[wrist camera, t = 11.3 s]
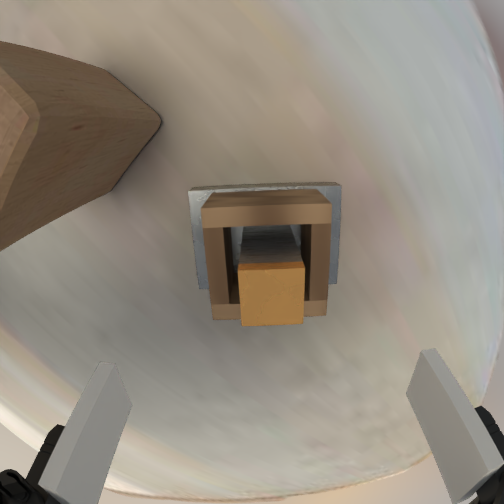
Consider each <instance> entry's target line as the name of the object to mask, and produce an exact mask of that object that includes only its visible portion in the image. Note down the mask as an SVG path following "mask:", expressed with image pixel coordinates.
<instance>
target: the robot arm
mask: <svg viewBox="0 0 504 504" xmlns="http://www.w3.org/2000/svg"><path fill="white" fill-rule="evenodd" d="M406 395H407V397H408V399H409V401H410V404H411V406H412V408H413V410H414V412H415V414H416V417H417V419H418V421H419V423H420V425H421V428H422V430H423V432H424V434H425V437H426V439H427V441H428V444H429V446H430V448H431V451H432V453H433V455H434V458H435V460H436V463H437V465H438V468H439V470H440V472H441V475H442V477H443V480H444V483H445V485H446V487H447V490H448V493H449V496H450V498H451V501H452V504H457V503H460V502H462V501H464V500H466V499H468V498H470V497H471V496H472V495H473V494H474V493H475V492H477V495H478V496H477V497H476V498H475V499H474V500H473V501H472V502H470V503H469V504H504V435H503V434H502V432H501V431H500V429H499V427H498V425H497V424H495V420H494V419H493V417H492V415H491V414H490V413H489V412H488V411H487V410H486V409H485V408H483V407H482V406H479V407H477V408H474V407H473V405H472V404H471V402H470V401H469V399H468V397H467V396H466V394H465V393H464V391H463V389H462V388H461V386H460V385H459V383H458V382H457V380H456V378H455V377H454V375H453V374H452V372H451V371H450V369H449V368H448V366H447V365H446V363H445V362H444V360H443V359H442V357H441V356H440V354H439V353H438V352H437V350H436V349H435V348H433V349H428V350H423V351H421V353H420V356H419V359H418V362H417V365H416V368H415V370H414V373H413V376H412V379H411V381H410V384H409V387H408V389H407V392H406ZM131 407H132V403H131V401H130V399H129V396H128V394H127V392H126V389H125V387H124V384H123V382H122V380H121V377H120V375H119V372H118V370H117V367H116V364H115V363H108V362H100V363H99V365H98V366H97V368H96V370H95V372H94V374H93V375H92V377H91V379H90V381H89V383H88V384H87V386H86V388H85V390H84V392H83V393H82V395H81V397H80V399H79V401H78V403H77V405H76V407H75V408H74V410H73V412H72V414H71V416H70V418H69V420H68V422H67V424H66V426H62V425H58V424H57V425H56V426H55V427H54V428H53V429H52V430H51V431H50V432H49V433H48V435H47V437H46V439H45V441H44V444H43V445H42V447H41V449H40V452H39V453H38V455H37V457H36V459H35V461H34V463H33V465H32V467H31V469H30V471H29V473H28V475H27V477H26V479H24V478H23V477H22V476H21V475H20V474H19V473H18V472H17V471H15V470H12V469H8V470H4V471H2V472H1V473H0V504H98V502H99V498H100V495H101V492H102V489H103V486H104V483H105V480H106V477H107V474H108V471H109V468H110V465H111V462H112V459H113V457H114V454H115V451H116V448H117V445H118V442H119V440H120V437H121V434H122V431H123V428H124V426H125V423H126V420H127V418H128V415H129V412H130V410H131Z"/></svg>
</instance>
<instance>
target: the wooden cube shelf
mask: <svg viewBox="0 0 504 504" xmlns="http://www.w3.org/2000/svg"><path fill="white" fill-rule="evenodd" d="M201 218H202V228H203V238H204V247H205V257H206V266H207V274H208V283H209V291H210V299H211V307H212V315H213V320H231V319H241V309H240V296H239V282H238V273H234V264H233V251H232V237H231V227H239V226H264V225H292V224H301V258H302V261H303V263H304V266H305V288H304V314H303V317H307V316H323V315H326V310H327V297H328V282H329V266H330V246H331V218H332V203H331V202H330V201H329V200H328V199H327V198H326V197H325V196H324V195H323V194H321V193H320V192H319V191H318V190H317V189H290V190H259V191H237V192H219V193H212V194H211V195H210V196H209V198H208V199H207V200H206V202H205V203H204V204H203V206H202V207H201Z"/></svg>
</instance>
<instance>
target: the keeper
mask: <svg viewBox="0 0 504 504" xmlns="http://www.w3.org/2000/svg"><path fill="white" fill-rule="evenodd" d="M290 189H317V190H318V191H319V192H320V193H321V194H323V195H324V196H325V197H326V198H327V199H328V200H329V201H330V202H331V203H332V218H331V246H330V266H329V282H328V284H337V270H338V255H339V237H340V214H341V185H339V184H338V183H336V182H323V183H271V184H245V185H225V186H209V187H194V188H191V189H190V190H189V191H188V195H189V205H190V215H191V225H192V234H193V243H194V251H195V260H196V268H197V276H198V283H199V289H209V283H208V274H207V266H206V257H205V247H204V238H203V228H202V218H201V207H202V206H203V204H204V203H205V202H206V200H207V199H208V198H209V196H210V195H211V194H212V193H219V192H237V191H259V190H290ZM231 237H232V251H233V264H234V273H238V282H239V296H240V309H241V322H242V326H265V325H288V324H303V314H304V288H305V266H304V263H303V261H302V258H301V224H292V225H264V226H239V227H231Z"/></svg>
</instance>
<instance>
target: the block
mask: <svg viewBox="0 0 504 504" xmlns="http://www.w3.org/2000/svg"><path fill="white" fill-rule="evenodd" d="M160 123H161V120H160V118H159V115H158V114H157V113H156V112H155V111H154V110H152V109H151V108H150V107H149V106H148V105H147V104H145V103H144V102H143V101H142V100H141V99H140V98H138V97H137V96H136V95H135V94H134V93H132V92H131V91H130V90H129V89H128V88H126V87H125V86H124V85H123V84H122V83H120V82H119V81H118V80H117V79H116V78H114V77H113V76H112V75H111V74H110V73H108V72H107V71H106V70H105V69H102V68H99V67H96V66H93V65H90V64H86V63H83V62H80V61H77V60H73V59H70V58H67V57H63V56H60V55H56V54H53V53H49V52H45V51H41V50H38V49H34V48H29V47H25V46H21V45H17V44H12V43H7V42H2V41H0V251H2V250H3V249H5V248H6V247H8V246H10V245H11V244H13V243H15V242H16V241H18V240H20V239H21V238H23V237H25V236H27V235H28V234H30V233H32V232H33V231H35V230H37V229H39V228H41V227H42V226H44V225H46V224H48V223H50V222H51V221H53V220H55V219H57V218H59V217H61V216H63V215H64V214H66V213H68V212H70V211H72V210H74V209H76V208H78V207H80V206H82V205H84V204H86V203H88V202H90V201H92V200H94V199H96V198H98V197H100V196H102V195H105V194H106V193H108V192H110V191H111V190H112V188H113V187H114V185H115V184H116V183H117V181H118V180H119V179H120V177H121V176H122V174H123V173H124V172H125V170H126V169H127V168H128V166H129V165H130V164H131V162H132V161H133V160H134V158H135V157H136V156H137V155H138V153H139V152H140V151H141V149H142V148H143V147H144V146H145V144H146V143H147V142H148V141H149V140H150V138H151V137H152V136H153V135H154V133H155V132H156V131H157V130H158V129H159V126H160Z"/></svg>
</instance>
